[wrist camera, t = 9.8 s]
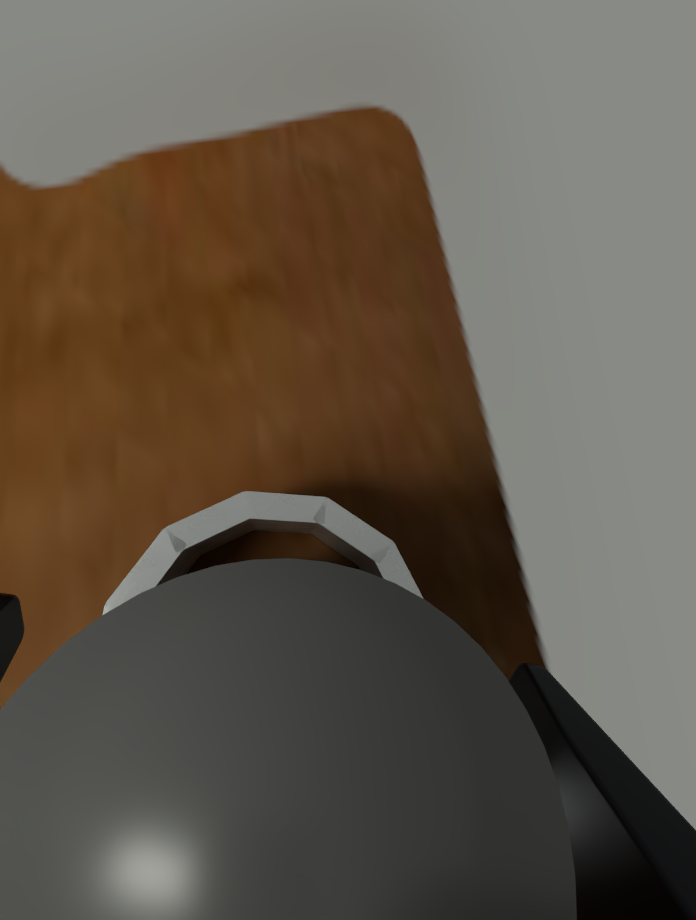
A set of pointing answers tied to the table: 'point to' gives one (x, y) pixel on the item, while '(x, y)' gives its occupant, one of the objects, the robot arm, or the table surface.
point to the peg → (277, 762)
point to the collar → (263, 513)
